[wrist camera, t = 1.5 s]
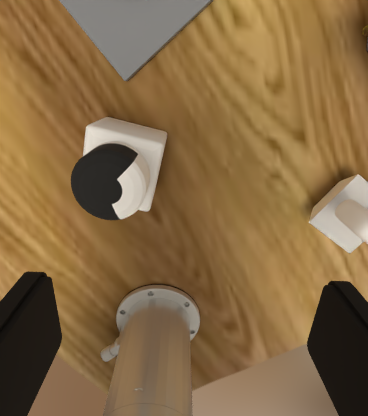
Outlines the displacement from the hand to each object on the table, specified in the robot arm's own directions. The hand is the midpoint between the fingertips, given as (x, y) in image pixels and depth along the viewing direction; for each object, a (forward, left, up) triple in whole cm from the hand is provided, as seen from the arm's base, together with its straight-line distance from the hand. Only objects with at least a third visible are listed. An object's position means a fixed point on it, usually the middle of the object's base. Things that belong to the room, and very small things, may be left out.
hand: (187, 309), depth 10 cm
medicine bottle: (-5, +4, -25) cm, 26 cm away
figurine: (+11, -17, -25) cm, 33 cm away
